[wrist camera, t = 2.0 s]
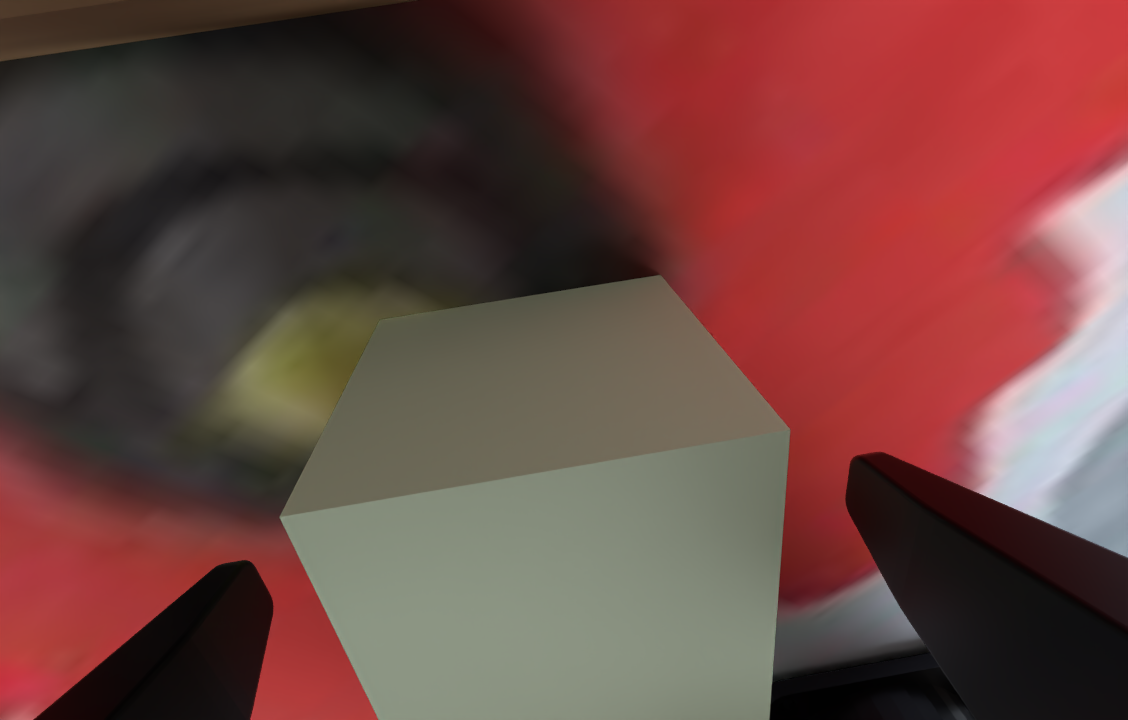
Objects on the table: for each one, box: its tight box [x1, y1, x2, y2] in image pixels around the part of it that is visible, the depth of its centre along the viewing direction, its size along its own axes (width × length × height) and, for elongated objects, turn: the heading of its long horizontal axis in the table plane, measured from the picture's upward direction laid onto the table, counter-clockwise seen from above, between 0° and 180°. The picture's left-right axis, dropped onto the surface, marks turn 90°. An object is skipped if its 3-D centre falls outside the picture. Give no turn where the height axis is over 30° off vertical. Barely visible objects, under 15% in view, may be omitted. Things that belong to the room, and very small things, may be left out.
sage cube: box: [280, 275, 790, 720], centre depth 9 cm, size 5×5×5 cm
